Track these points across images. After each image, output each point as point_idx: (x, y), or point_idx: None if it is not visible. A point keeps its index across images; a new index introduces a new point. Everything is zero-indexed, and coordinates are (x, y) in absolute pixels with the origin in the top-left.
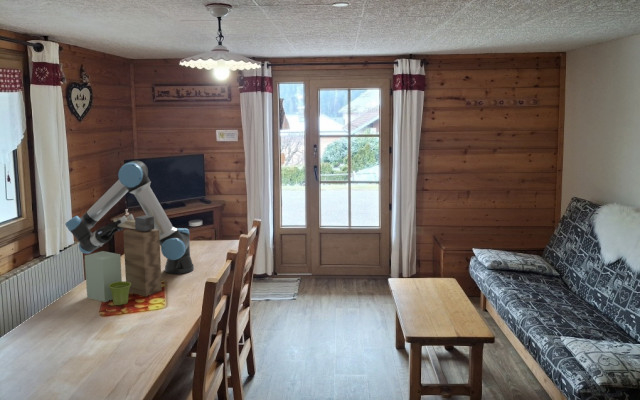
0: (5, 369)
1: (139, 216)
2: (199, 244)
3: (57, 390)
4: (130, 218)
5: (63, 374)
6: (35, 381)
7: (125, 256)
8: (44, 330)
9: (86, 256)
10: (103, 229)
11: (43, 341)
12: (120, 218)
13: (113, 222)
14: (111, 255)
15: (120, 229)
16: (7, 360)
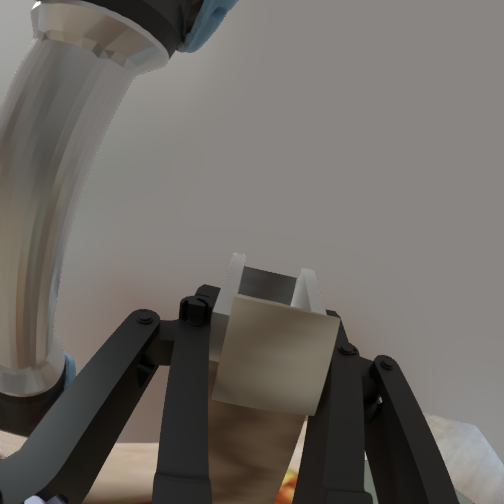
0: (488, 443)
1: (267, 271)
2: None
3: (442, 419)
4: (238, 289)
5: (441, 428)
6: (460, 428)
7: (275, 492)
8: (474, 491)
9: (467, 500)
10: (430, 475)
11: (469, 470)
12: (319, 296)
13: (357, 351)
14: (369, 469)
15: (85, 492)
16: (493, 452)
